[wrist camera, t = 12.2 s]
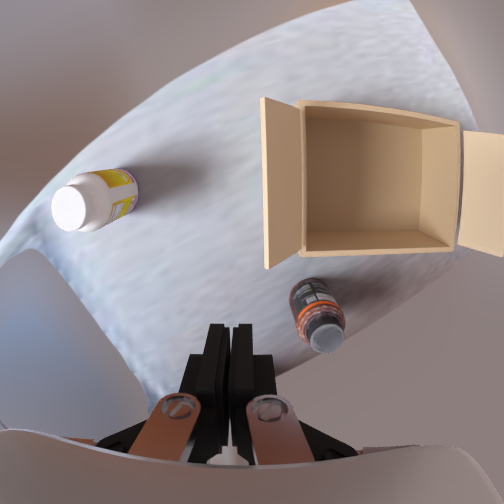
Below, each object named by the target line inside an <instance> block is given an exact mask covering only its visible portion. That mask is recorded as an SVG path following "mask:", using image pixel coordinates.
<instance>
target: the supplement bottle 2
mask: <svg viewBox="0 0 504 504" xmlns="http://www.w3.org/2000/svg"><path fill="white" fill-rule="evenodd" d="M289 301H290V307H291V310H292V313H293V317H294V320H295V324H296V328H297V331H298V334H299V336H300V338H301V339H302V340H303V341H304V342H305V343H306V344H308V345H310V346H311V347H312V348H313V349H314V350H315V351H317V352H319V353H329V352H332V351H334V350H335V349H337V348H338V347H339V346H340V345H341V344H342V342H343V340H344V329H345V317H344V315H343V312H342V311H341V309H340V307H339V306H338V304H337V302H336V301H335V299H334V297H333V295H332V294H331V292H330V291H329V289H328V287H327V286H326V285H325V284H324V283H323V282H321V281H319V280H317V279H306V280H303V281H301V282H299V283H298V284H297V285H295V286H294V288H293V289H292V291H291V293H290V298H289Z"/></svg>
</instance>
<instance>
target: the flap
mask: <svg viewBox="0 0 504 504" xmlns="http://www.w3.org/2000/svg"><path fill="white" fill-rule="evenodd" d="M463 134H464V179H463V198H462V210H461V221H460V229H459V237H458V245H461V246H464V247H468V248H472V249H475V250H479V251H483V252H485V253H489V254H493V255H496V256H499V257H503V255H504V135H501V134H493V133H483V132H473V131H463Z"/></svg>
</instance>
